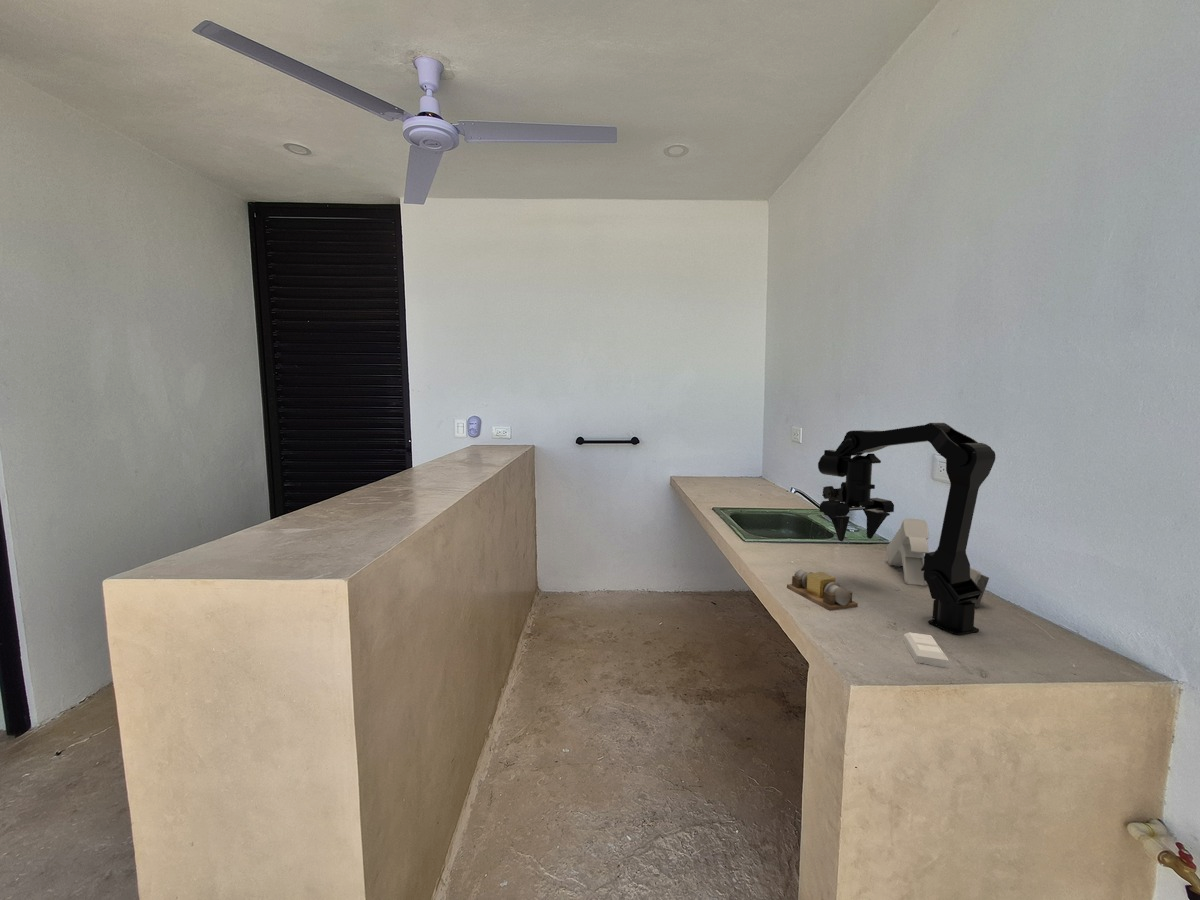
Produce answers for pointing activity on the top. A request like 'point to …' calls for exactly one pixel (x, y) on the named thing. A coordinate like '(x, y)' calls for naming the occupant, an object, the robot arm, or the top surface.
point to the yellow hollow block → (818, 583)
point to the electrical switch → (978, 583)
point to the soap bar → (925, 649)
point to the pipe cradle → (831, 597)
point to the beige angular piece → (910, 550)
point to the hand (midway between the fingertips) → (855, 539)
